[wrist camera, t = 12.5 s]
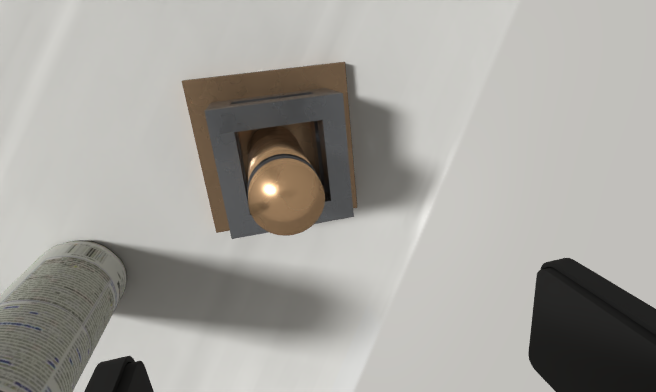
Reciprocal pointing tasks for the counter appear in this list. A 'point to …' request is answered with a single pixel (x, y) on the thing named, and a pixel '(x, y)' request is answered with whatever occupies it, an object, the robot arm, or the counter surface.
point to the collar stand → (269, 111)
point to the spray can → (57, 316)
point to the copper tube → (282, 183)
